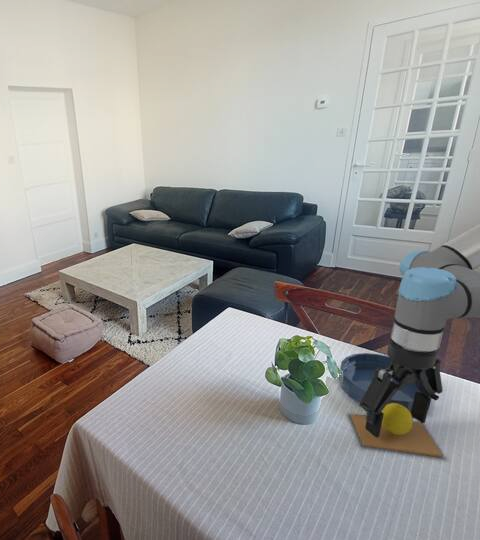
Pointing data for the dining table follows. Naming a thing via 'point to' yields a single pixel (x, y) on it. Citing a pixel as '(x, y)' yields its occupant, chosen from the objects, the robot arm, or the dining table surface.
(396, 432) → the lemon
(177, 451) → the dining table surface
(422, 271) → the robot arm
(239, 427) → the dining table surface
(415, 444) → the cork mat
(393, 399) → the bowl
